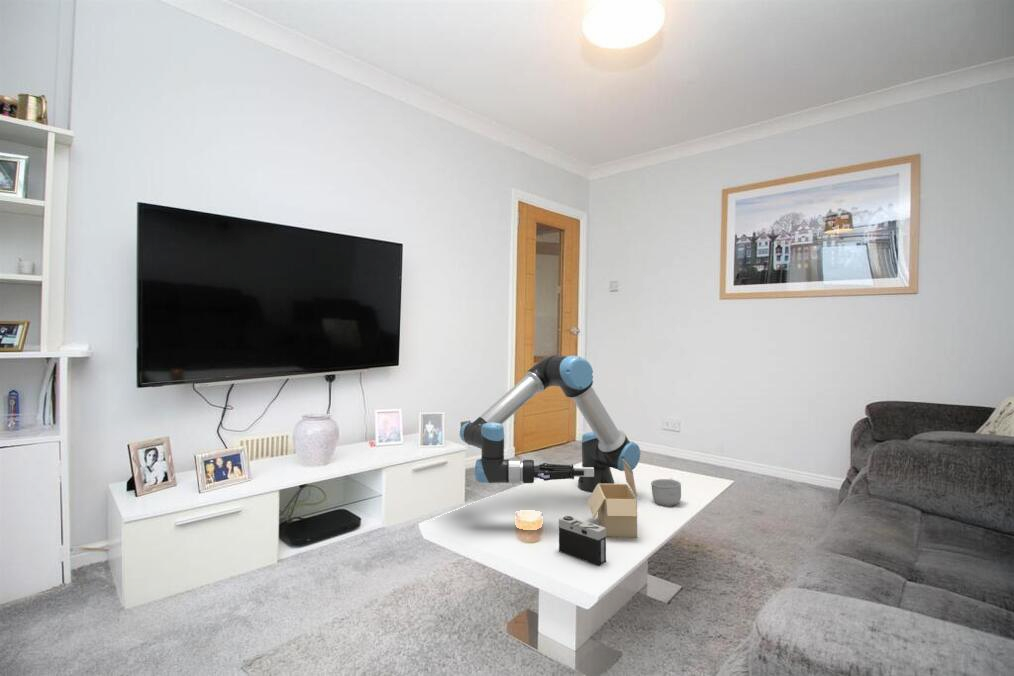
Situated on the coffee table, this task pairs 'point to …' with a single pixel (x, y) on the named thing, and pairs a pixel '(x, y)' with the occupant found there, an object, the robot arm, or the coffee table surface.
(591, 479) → the robot arm
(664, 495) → the teacup
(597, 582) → the coffee table surface
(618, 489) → the carton
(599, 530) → the camera
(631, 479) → the flap
